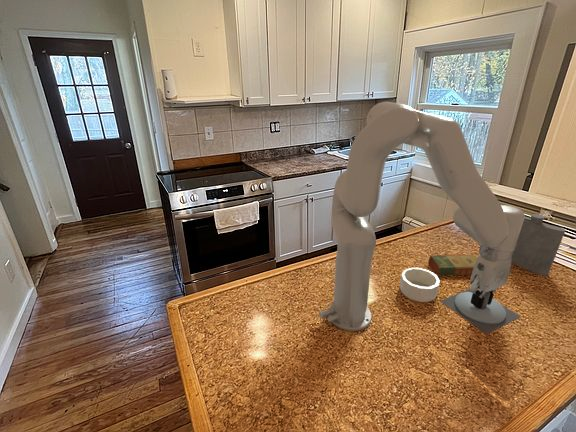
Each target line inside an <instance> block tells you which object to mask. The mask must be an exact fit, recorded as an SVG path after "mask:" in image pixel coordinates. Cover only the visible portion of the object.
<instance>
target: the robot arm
mask: <svg viewBox="0 0 576 432" xmlns="http://www.w3.org/2000/svg"><path fill="white" fill-rule="evenodd" d="M402 144H404V145H408V146H411V147H416V148H419V149H421V150H423V152H424V153H425V155H426V157H427V160H428V162H429V164H430V167H431V169H432V171H433V173H434V175H435V178H436V180H437V182H438V186H440V188H441V189H442V190H443V191H444V193H445V194H446V195H447V196H448V197H449V198H450V199H451V200H452V201H453V202H455V204H456V205H457V206H458V207H457V208H456V209H455V211H454V212H453V215H452V221H453V223H454V224H455V225H456V226H457V228H459V230H460V231H462V232H463V233H465V234H466V235H467V236H469V238H471V239H472V240H473V241H474V242H476V243H477V244H478V245H480V246H479V249H478V255H477V257H476V258H477V260H476V263H475V265H474V268H473V271H472V274H470V280H469V284H470V286H469V288H468V289H467V290H469V291H470V292H472V293H473V295H472V298H471V304H473V305H474V306H476V307H477V308H479V309H481V308H482V306H483V302H484V299H485V298H484V294H485V292H490V297H489V300H488V303H487V304H488V305H490V304H491V302H492V299H494V296H495V294H494V293H496V291H497V289H499V288H501V287H504V286H505V285H506V284H507V282H508V279H509V275H510V272H511V266H512V263H511V262H512V255H513V252H514V249H515V246H516V243H517V240H518V237H519V234H520V231H521V228H522V224H523V221H524V217H526V216H525V212H524V211H523V210H522V209H520V208H518V207H515V206H512V205H504V204H503V205H502V204H501V202H500V200H499V199H498V198H497V196H496V195H495V193H494V192H493V191H492V190H491V188H490V186H489V185H488V184H487V182H486V181H485V179H484V178H483V177H482V175H481V174H480V173H479V172H478V170H477V167H476V164H475V161H474V159H473V156H472V154H471V151H470V149H469V145H468V143H467V141H466V139H465V136H464V133H463V130H462V129H461V126H460V125H459V122H457V121H456V120H455V119H453V118H450V117H447V116H443V115H438V114H433V113H428V112H424V111H419V110H416V109H414V108H412V107H411V106H409V105H406V104H404V103H403V104H402V103H399V102H392V101H382V102H379V103H376V104H374V105H373V107H371V109H370V110H369V111H368V113H367V115H366V125H365V126H364V127H363V128H362V129H361V130H360V131H359V133H358V134H357V135H356V136H355V138H354V140H353V142H352V144H351V146H350V149H349V153H348V159H347V165H346V170H345V171H343V172H342V173H340V174H339V176H338V177H337V178H336V181H335V184H334V188H333V196H332V206H331V207H332V208H331V218H330V220H331V221H330V222H331V228H332V230H333V233H334V236H335V238H336V243H337V244H336V245H337V250H336V257H335V264H334V265H335V266H334V271H335V272H334V287H333V289H334V290H333V291H334V292H333V293H334V294H333V301H332V302H330V305H329V306H328V307H327V309H323V310H321V311H319V312H318V315H319V318H320V319H324V318H327V322H328V323H332V324H333V325H334V326H335V325H336V326H335V327H337V328H339V329H341V330H343V329H344V331H349V332H355V331H356V332H357V331H361V330H365V329H366V328H368V326H369V325H370V324H371V322H372V312H371V310H370V308H369V307H368V301H369V299H368V298H369V289H370V279H371V269H372V262H373V257H374V254H375V249H376V247H377V238H376V234H375V231H374V229H373V227H372V226H371V224H370V222H369V221H368V220H367V218H366V217H368V216H369V215H371V214H372V213H374V211H375V210H376V209H377V207H378V204H379V200H380V192H381V186H382V181H383V173H384V169H385V165H386V162H387V159H388V158H389V156H390V155H391V153H392V152H393V151H394V150H395V149H396V148H397V147H399V146H401V145H402ZM478 289H480V290H481V292H480V291H479V290H478Z"/></svg>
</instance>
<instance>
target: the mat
mask: <svg viewBox="0 0 576 432" xmlns="http://www.w3.org/2000/svg"><path fill="white" fill-rule="evenodd" d="M463 292H470V291H469V290H468V289H466V290H463V291H461V292H458V293H456V294H453V295H450V296H448V297H447V298H444V299H441V300H440V302H441V303H442V304H444V305H445V307H447V308H449V309H450V310H452V311H453V312H454V313H456V314H457V315H459V316H460V317H461V318H463V319H464V320H466V321H467V322H468V323H469V324H471V325H473V326H474V327H475V328H477V329H478V330H480V331H481V332H483V333H484V334H485V335H488V334H489V333H492V332H494V331H496V330H498V329H500V328H502V327H505V326H506V325H508V324H510V323H513V322H514V321H516V320H518V319H519V318H522V316H521V315H520V314H518V313H516V312H514V311H513V310H511V309H510V308H508V307H506V306H504V305H503V304H501V305H502V306H503V307H504V309H505V311H506V317H505V319H504V321H503V322H501V323H499V324H483V323H479V322H476V321H474V320H471V319H469V318H468V317H466V316H464V315H463V314H462V313H461V312H459V310H458V309H457V308H456V306H455V298H456V296H457V295H458V294H460V293H463Z"/></svg>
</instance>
